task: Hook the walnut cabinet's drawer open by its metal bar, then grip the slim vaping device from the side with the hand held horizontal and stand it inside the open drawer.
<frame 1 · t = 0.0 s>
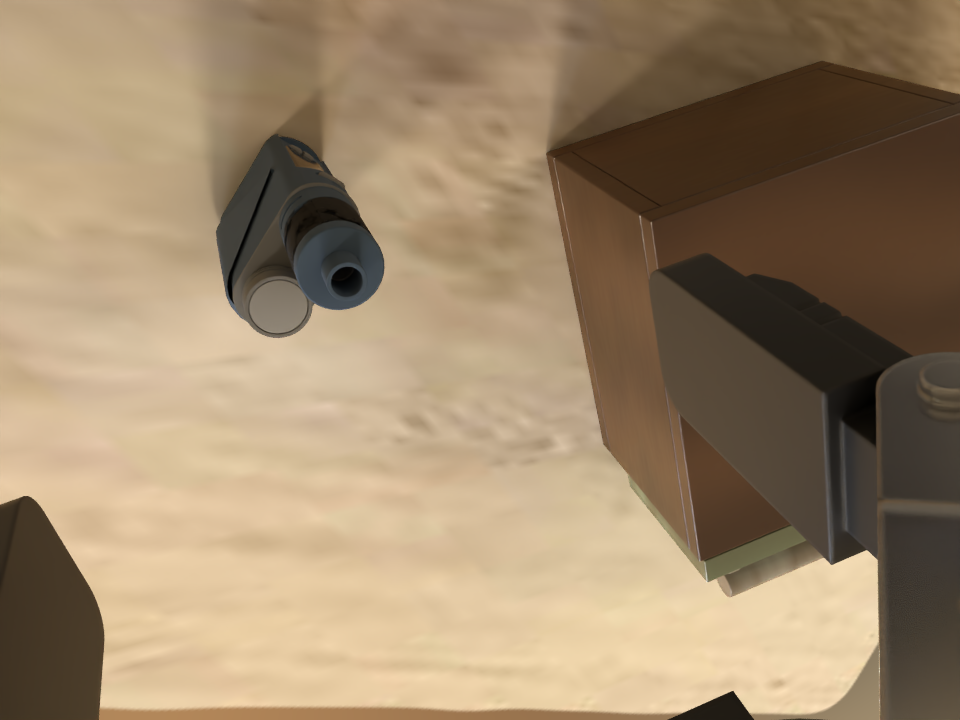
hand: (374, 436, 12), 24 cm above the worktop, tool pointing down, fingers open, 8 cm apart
cabinet: (706, 264, 41), on the worktop
drawer: (771, 406, 40), point 5 cm above the worktop, slide at 1.0 cm
vaping device: (269, 195, 34), on the worktop
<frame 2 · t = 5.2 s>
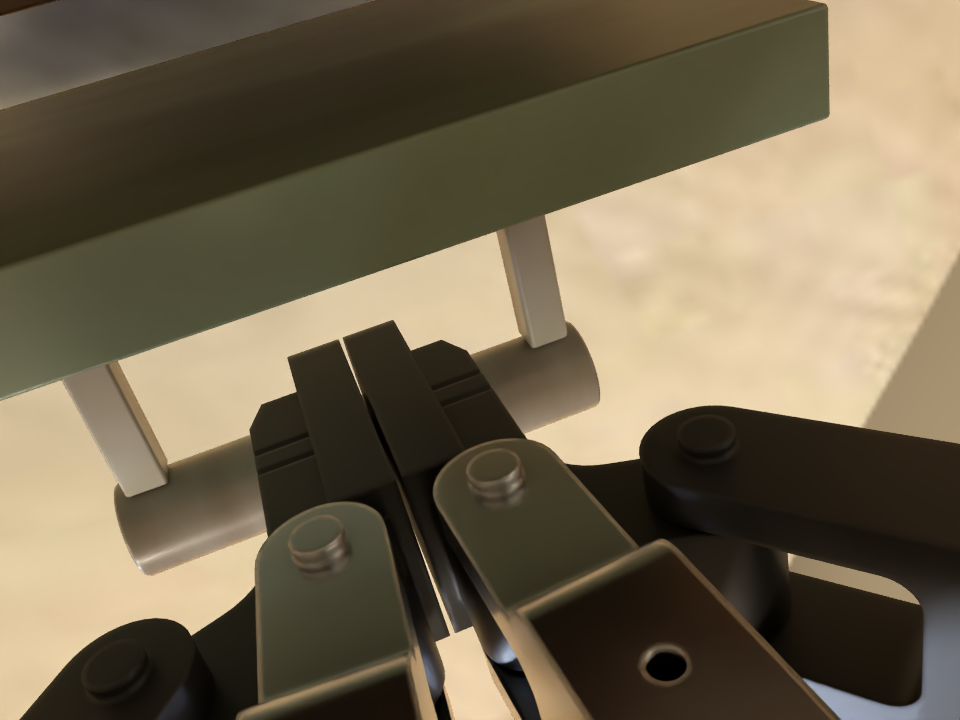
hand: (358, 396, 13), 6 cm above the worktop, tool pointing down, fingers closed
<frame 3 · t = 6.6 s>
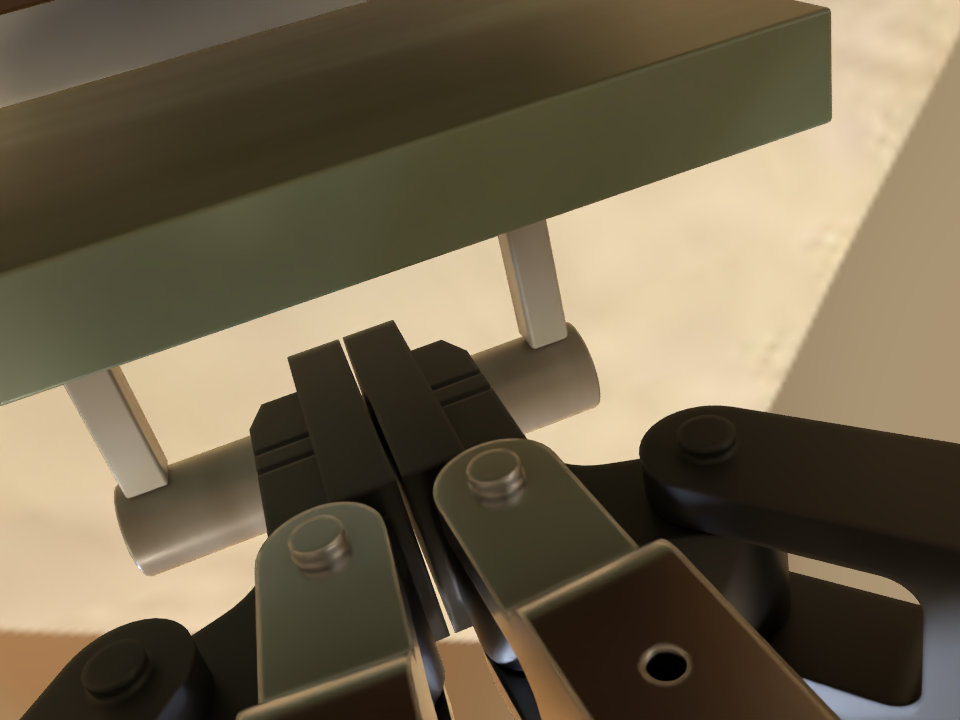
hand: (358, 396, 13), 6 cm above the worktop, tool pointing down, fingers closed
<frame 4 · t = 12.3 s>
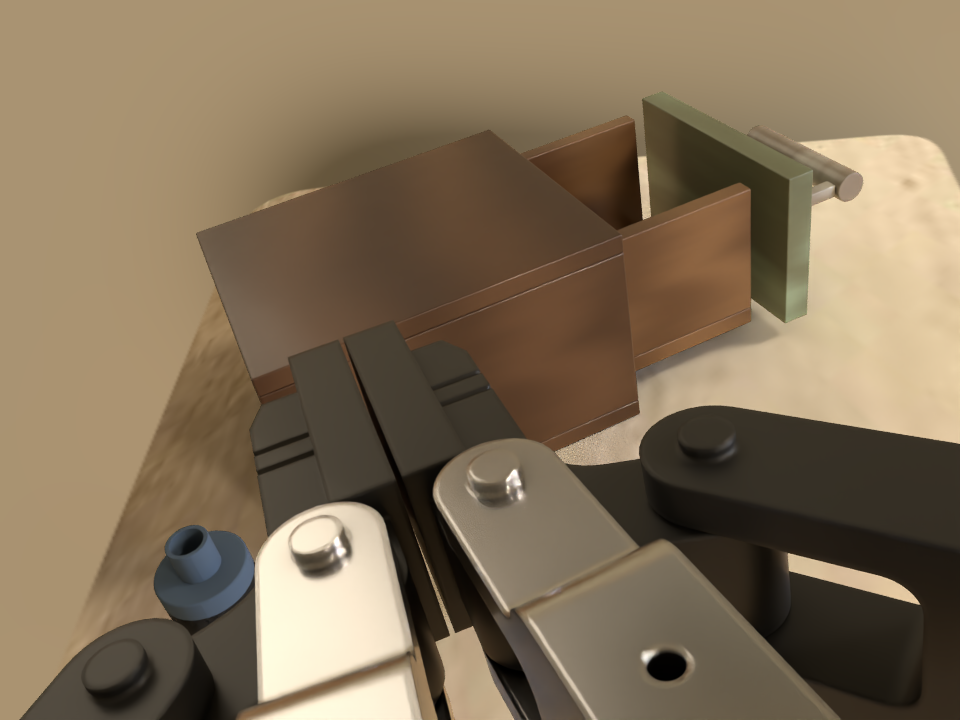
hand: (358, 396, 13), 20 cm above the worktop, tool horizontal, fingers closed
cabinet: (436, 399, 43), on the worktop
drawer: (651, 228, 43), point 5 cm above the worktop, slide at 8.0 cm
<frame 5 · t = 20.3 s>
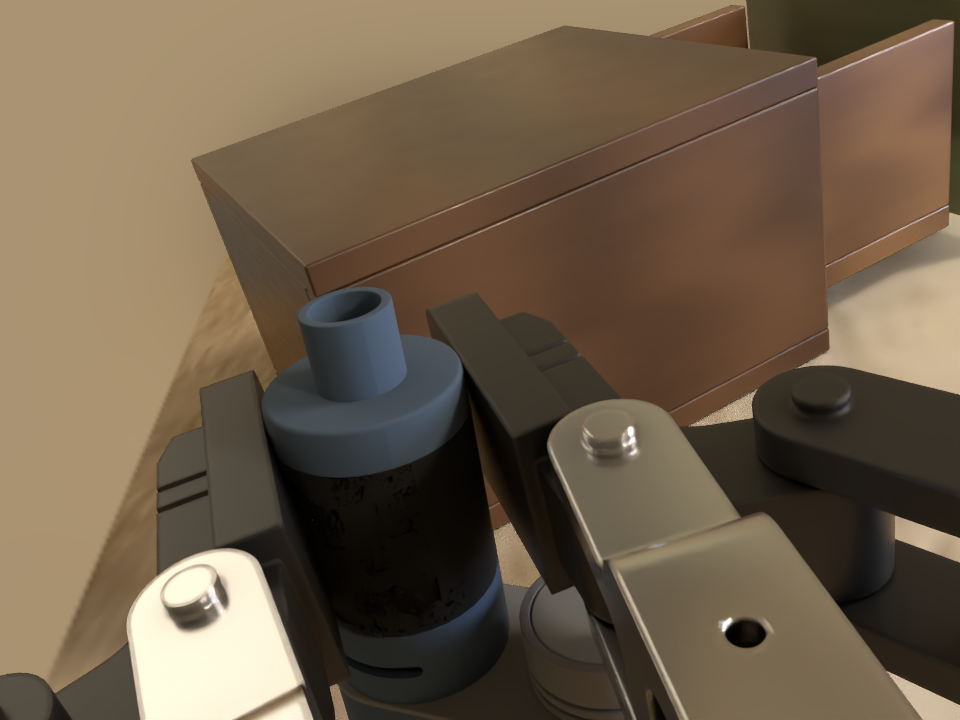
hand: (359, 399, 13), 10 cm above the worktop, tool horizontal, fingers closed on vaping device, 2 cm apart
cabinet: (530, 371, 32), on the worktop
drawer: (792, 125, 33), point 5 cm above the worktop, slide at 8.0 cm
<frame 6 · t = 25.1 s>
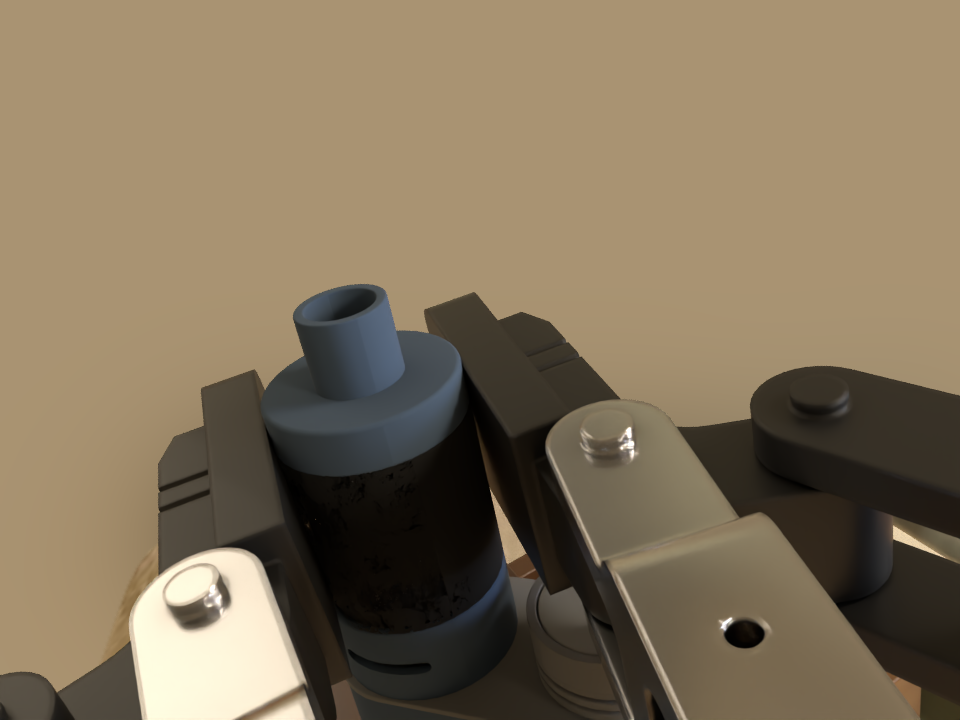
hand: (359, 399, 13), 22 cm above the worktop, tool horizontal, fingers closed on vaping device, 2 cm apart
drawer: (735, 665, 28), point 5 cm above the worktop, slide at 8.0 cm
when the fingers open (12 cm above the worktop, at t = 29.9 s): vaping device stays where it is, resting on drawer.
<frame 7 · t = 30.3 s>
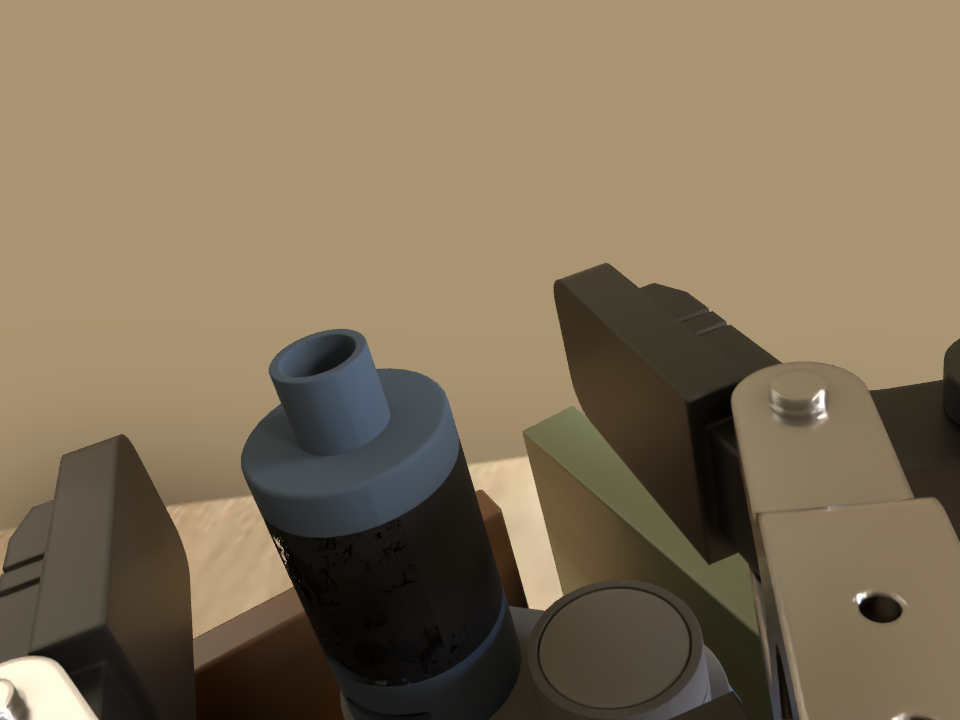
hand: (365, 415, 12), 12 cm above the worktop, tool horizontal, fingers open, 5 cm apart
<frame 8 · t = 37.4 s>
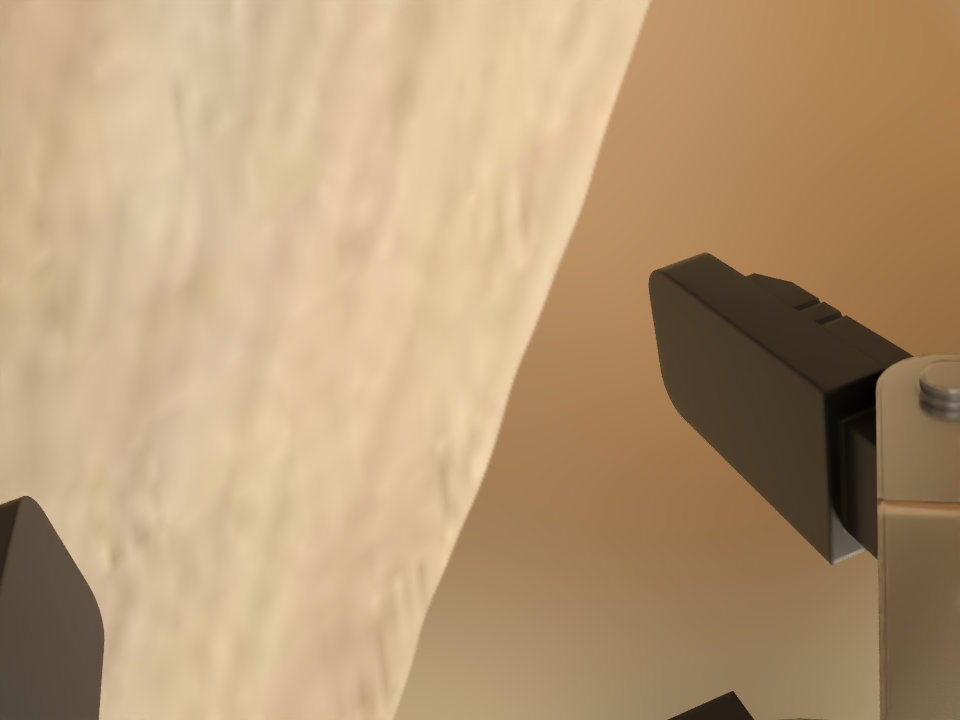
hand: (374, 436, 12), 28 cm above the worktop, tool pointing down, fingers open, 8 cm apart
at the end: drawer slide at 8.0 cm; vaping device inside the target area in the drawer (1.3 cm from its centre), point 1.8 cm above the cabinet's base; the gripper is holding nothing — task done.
